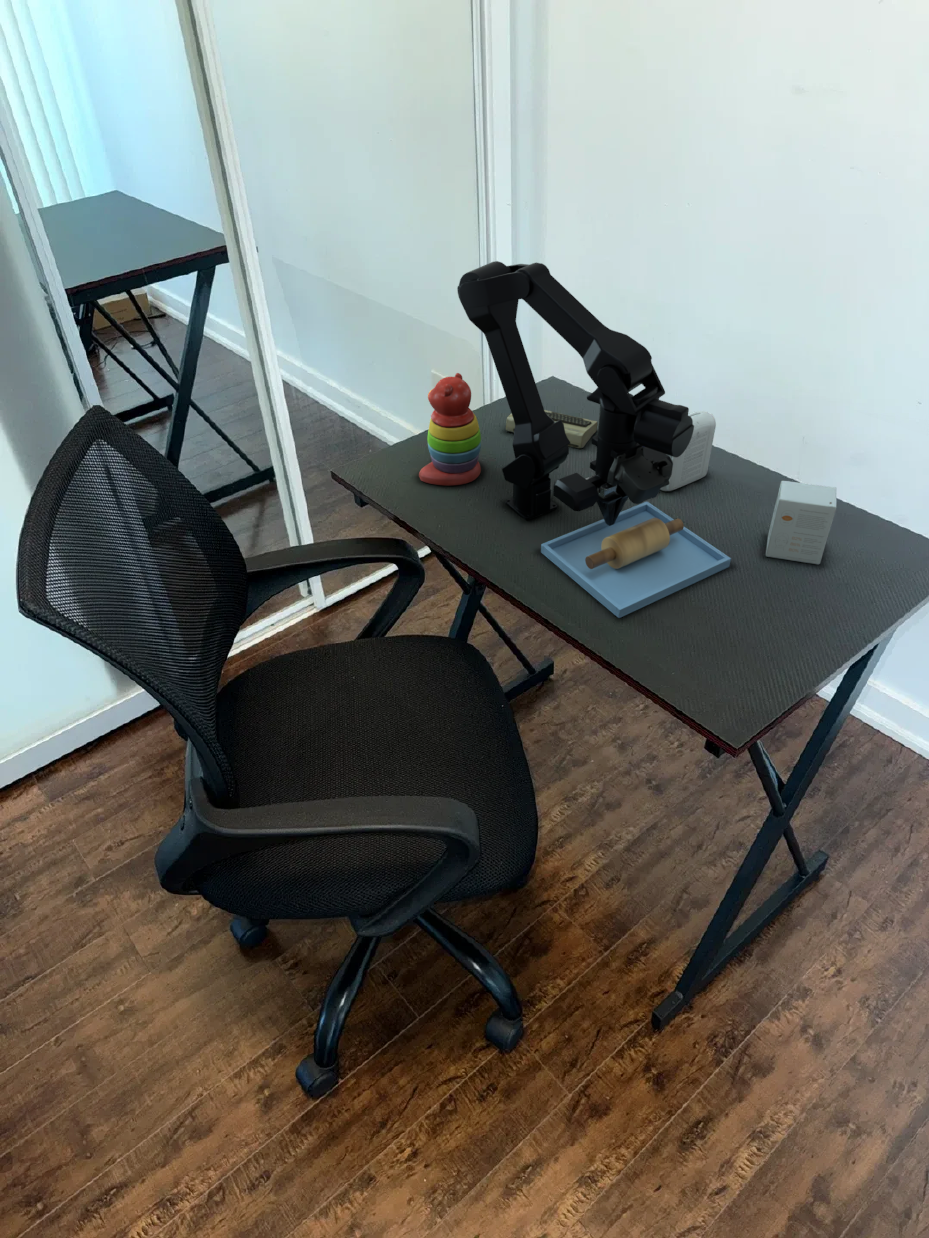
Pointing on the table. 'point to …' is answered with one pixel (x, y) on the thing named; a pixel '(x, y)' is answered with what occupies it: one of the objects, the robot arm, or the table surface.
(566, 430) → the computer
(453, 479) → the stacking bear
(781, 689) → the table surface
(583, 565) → the tray
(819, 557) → the small box
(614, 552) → the rolling pin
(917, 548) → the table surface
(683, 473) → the photo printer
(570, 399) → the table surface
